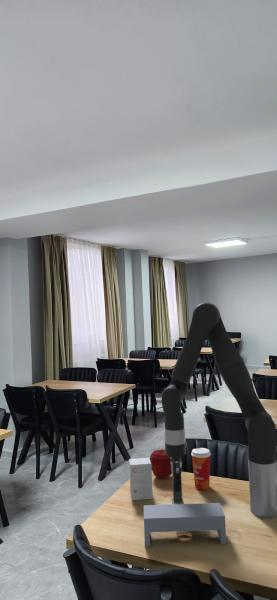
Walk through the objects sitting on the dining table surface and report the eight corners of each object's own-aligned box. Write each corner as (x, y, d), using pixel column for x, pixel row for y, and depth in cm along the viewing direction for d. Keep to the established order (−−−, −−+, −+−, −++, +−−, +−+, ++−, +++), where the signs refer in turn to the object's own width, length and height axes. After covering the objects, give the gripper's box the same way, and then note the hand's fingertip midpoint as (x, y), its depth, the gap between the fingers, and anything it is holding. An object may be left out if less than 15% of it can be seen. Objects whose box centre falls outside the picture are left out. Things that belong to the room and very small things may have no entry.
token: (190, 534, 120) (190, 530, 120) (192, 542, 115) (192, 538, 115) (176, 534, 120) (175, 530, 120) (177, 543, 115) (177, 538, 115)
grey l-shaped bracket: (182, 501, 140) (181, 470, 140) (188, 527, 122) (187, 491, 123) (171, 501, 140) (170, 470, 140) (176, 528, 123) (174, 492, 123)
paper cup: (189, 484, 154) (187, 448, 154) (206, 481, 156) (205, 446, 157) (197, 492, 146) (196, 455, 147) (215, 489, 149) (214, 452, 149)
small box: (150, 491, 149) (149, 457, 149) (153, 499, 143) (151, 463, 143) (129, 493, 148) (128, 458, 149) (131, 500, 142) (130, 464, 142)
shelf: (220, 528, 121) (219, 502, 122) (226, 543, 113) (225, 516, 114) (144, 531, 121) (143, 505, 122) (144, 546, 113) (143, 518, 114)
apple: (165, 485, 154) (164, 455, 154) (144, 478, 161) (143, 450, 161) (180, 476, 162) (179, 448, 162) (160, 470, 169) (159, 443, 169)
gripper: (187, 446, 132) (189, 498, 132) (183, 434, 146) (185, 480, 146) (165, 447, 132) (167, 498, 132) (163, 435, 147) (165, 481, 146)
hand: (176, 489), depth 139 cm, fingers closed on grey l-shaped bracket, 3 cm apart
